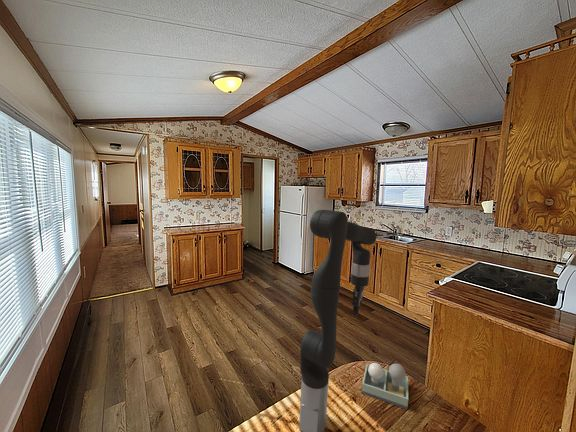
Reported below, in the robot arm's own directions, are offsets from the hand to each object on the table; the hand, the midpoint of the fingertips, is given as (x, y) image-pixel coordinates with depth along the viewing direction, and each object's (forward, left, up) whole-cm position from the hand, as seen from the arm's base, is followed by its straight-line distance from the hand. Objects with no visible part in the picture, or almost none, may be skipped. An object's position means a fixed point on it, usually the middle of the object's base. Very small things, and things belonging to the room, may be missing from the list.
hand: (357, 308), depth 113 cm
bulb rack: (-4, -14, -30) cm, 33 cm away
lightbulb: (-4, -18, -29) cm, 34 cm away
